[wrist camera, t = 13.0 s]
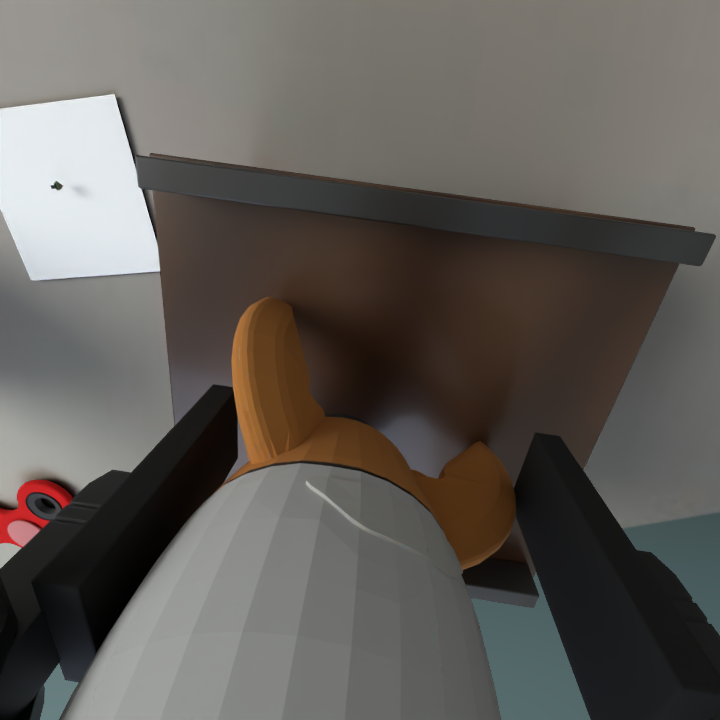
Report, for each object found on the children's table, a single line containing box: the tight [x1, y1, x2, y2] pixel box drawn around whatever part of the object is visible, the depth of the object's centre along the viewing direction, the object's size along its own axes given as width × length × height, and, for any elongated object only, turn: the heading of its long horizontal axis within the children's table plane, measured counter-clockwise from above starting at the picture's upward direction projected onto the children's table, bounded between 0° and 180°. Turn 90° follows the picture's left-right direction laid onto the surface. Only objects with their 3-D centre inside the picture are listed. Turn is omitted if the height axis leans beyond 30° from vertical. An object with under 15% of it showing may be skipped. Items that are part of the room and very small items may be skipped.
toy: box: [0, 480, 73, 548], centre depth 29 cm, size 10×10×1 cm
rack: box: [135, 153, 716, 608], centre depth 17 cm, size 16×15×9 cm
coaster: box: [0, 94, 160, 281], centre depth 19 cm, size 8×8×1 cm
